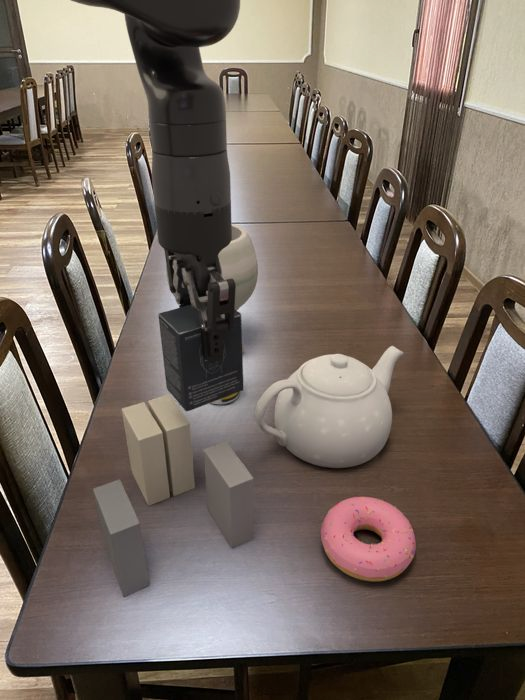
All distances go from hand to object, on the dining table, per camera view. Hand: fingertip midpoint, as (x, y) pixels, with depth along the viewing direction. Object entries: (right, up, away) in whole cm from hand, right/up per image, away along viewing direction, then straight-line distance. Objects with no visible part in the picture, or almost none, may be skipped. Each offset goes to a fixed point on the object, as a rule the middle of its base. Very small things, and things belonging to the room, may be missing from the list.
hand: (201, 343), depth 62 cm
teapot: (+17, -14, +20) cm, 29 cm away
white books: (-7, -18, +11) cm, 22 cm away
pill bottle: (0, -8, +28) cm, 29 cm away
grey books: (-3, -24, +2) cm, 24 cm away
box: (0, -6, +4) cm, 7 cm away
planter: (-2, 0, +42) cm, 42 cm away
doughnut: (+19, -24, +2) cm, 31 cm away
